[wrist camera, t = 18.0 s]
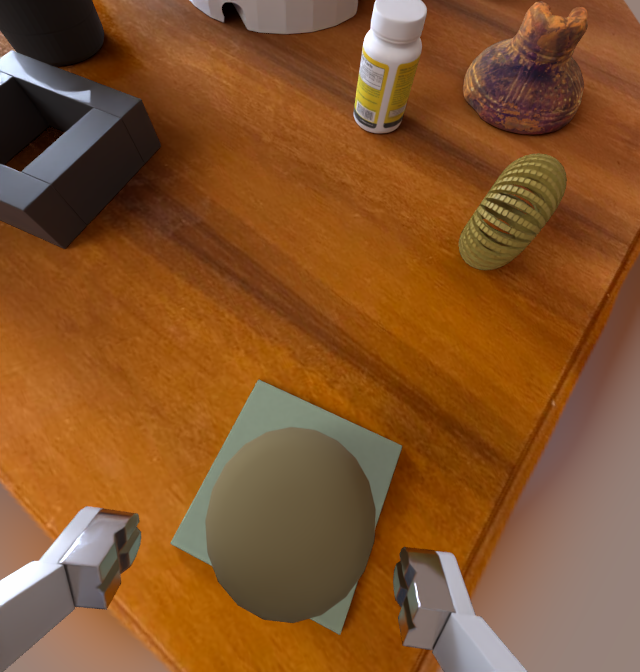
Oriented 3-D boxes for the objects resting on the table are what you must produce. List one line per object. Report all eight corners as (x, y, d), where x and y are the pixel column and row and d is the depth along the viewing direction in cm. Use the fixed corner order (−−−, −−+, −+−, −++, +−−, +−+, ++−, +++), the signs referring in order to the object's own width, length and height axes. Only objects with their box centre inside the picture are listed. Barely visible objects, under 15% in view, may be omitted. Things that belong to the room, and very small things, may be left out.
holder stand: (65, 249, 24) (23, 210, 21) (-65, 191, 26) (-127, 145, 22) (161, 146, 29) (141, 98, 25) (46, 101, 30) (11, 50, 27)
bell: (442, 108, 33) (479, 16, 26) (483, 51, 37) (524, -41, 31) (553, 156, 31) (622, 70, 25) (583, 91, 36) (649, 3, 29)
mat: (339, 631, 17) (340, 635, 17) (172, 542, 18) (169, 543, 18) (400, 446, 21) (402, 445, 20) (259, 380, 22) (258, 379, 21)
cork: (364, 526, 18) (444, 601, 8) (260, 573, 17) (203, 726, 7) (326, 423, 20) (352, 379, 10) (230, 459, 19) (153, 450, 9)
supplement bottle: (400, 105, 33) (431, -8, 25) (401, 137, 31) (435, 27, 23) (353, 100, 33) (369, -15, 25) (351, 132, 31) (369, 20, 23)
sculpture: (476, 209, 28) (539, 117, 21) (519, 232, 28) (600, 145, 20) (434, 271, 26) (488, 191, 18) (480, 299, 25) (556, 227, 17)
